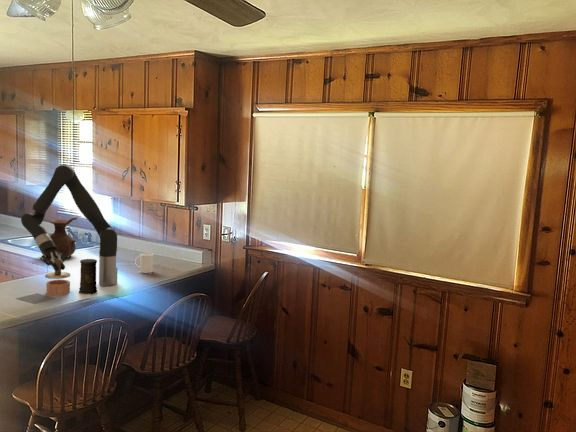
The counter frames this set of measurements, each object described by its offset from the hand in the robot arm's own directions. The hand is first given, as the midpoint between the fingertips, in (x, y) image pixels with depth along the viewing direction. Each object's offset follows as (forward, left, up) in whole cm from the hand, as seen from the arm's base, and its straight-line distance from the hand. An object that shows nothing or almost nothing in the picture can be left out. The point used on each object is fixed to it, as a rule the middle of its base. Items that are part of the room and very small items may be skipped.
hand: (60, 269), depth 246 cm
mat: (+13, -1, -13) cm, 19 cm away
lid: (0, -2, -4) cm, 4 cm away
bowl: (0, -2, -13) cm, 14 cm away
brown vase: (-57, -75, -14) cm, 95 cm away
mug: (-63, -1, -14) cm, 64 cm away
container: (-10, +9, -14) cm, 19 cm away
